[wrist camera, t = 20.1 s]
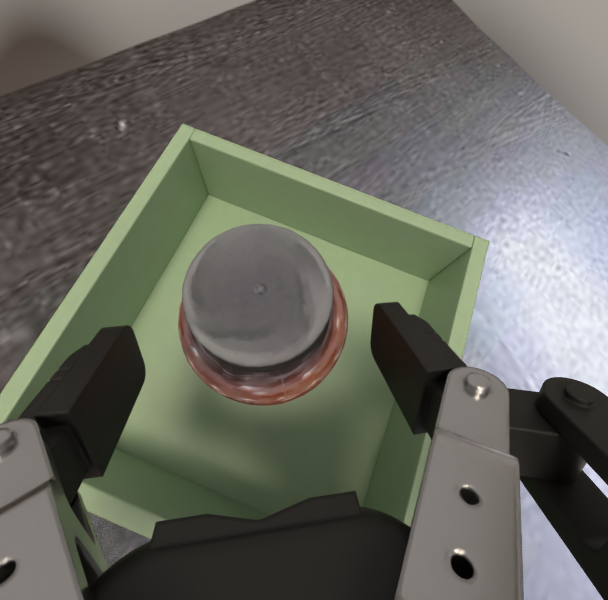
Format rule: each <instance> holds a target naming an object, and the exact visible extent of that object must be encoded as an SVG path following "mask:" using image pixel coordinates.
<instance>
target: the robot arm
mask: <svg viewBox="0 0 608 600" xmlns="http://www.w3.org/2000/svg"><path fill="white" fill-rule="evenodd" d="M370 345H371V352H372V356H373V358H374V360H375V362H376V364H377V366H378V368H379V370H380V372H381V374H382V376H383V377H384V379H385V381H386V383H387V385H388V387H389V389H390V391H391V393H392V395H393V397H394V398H395V400H396V402H397V404H398V406H399V408H400V410H401V412H402V414H403V416H404V418H405V419H406V421H407V423H408V425H409V427H410V429H411V431H412V433H413V435H415V434H422V433H428V435H429V436H430V438H431V443H430V447H429V451H428V456H427V460H426V464H425V468H424V472H423V476H422V480H421V485H420V489H419V493H418V497H417V501H416V505H415V509H414V513H413V517H412V521H411V526H410V527H409V526H408V525H406V524H405V523H404V522H402V521H400V520H398V519H396V518H395V517H393V516H391V515H388V514H386V513H383V512H381V511H378V510H374V509H371V508H367V507H360V505H359V501H358V498H357V494H356V491H350V492H344V493H337V494H331V495H324V496H318V497H312V498H308V499H305V500H303V501H301V502H299V503H296V504H294V505H292V506H290V507H288V508H285V509H283V510H281V511H279V512H276V513H274V514H272V515H270V516H267V517H265V518H263V519H258V520H253V519H245V518H237V517H229V516H221V515H213V514H202V515H196V516H190V517H183V518H177V519H170V520H164V521H158V522H156V523H155V527H154V531H153V535H152V538H151V541H150V542H148V543H146V544H144V545H142V546H140V547H138V548H137V549H135V550H133V551H131V552H130V553H128V554H127V555H125V556H124V557H122V558H121V559H120V560H118V561H117V562H116V563H114V564H113V565H112V566H111V567H109V565H108V563H107V561H106V559H105V557H104V555H103V552H102V550H101V547H100V544H99V542H98V539H97V536H96V534H95V531H94V528H93V526H92V523H91V520H90V518H89V515H88V512H87V510H86V507H85V504H84V502H83V499H82V496H81V495H80V493H79V491H78V489H79V487H80V485H81V483H82V481H83V479H89V478H96V477H103V476H104V473H105V471H106V469H107V466H108V464H109V462H110V460H111V457H112V455H113V453H114V450H115V448H116V446H117V443H118V441H119V439H120V437H121V434H122V432H123V430H124V427H125V425H126V423H127V421H128V418H129V416H130V414H131V411H132V409H133V407H134V405H135V402H136V400H137V398H138V395H139V393H140V391H141V389H142V386H143V384H144V381H145V376H146V369H145V363H144V360H143V357H142V354H141V351H140V348H139V345H138V342H137V339H136V336H135V333H134V331H133V329H132V327H131V326H129V325H125V326H114V327H103V328H101V329H100V330H99V332H98V333H97V334H96V335H95V337H94V338H93V339H92V341H91V342H90V343H89V344H88V345H84V346H82V347H81V348H80V349H78V350H77V351H75V352H74V353H73V354H71V355H70V356H69V357H68V358H67V359H66V360H65V361H64V363H63V364H62V365H61V366H60V367H59V371H56V372H55V374H54V375H53V376H52V377H51V378H50V382H47V383H46V384H45V386H44V387H43V388H42V389H41V391H40V392H39V393H38V394H37V395H36V397H35V398H34V399H33V400H32V402H31V403H30V404H29V405H28V406H27V408H26V409H25V410H24V411H23V412H22V414H21V415H20V416H19V417H18V419H13V420H9V421H6V422H3V423H0V600H524V593H523V563H522V533H521V504H520V480H521V482H522V483H523V484H524V486H525V487H526V489H527V490H528V492H529V493H530V495H531V496H532V497H533V499H534V500H535V502H536V503H537V505H538V506H539V507H540V509H541V510H542V512H543V513H544V515H545V516H546V517H547V519H548V520H549V522H550V523H551V525H552V526H553V528H554V529H555V530H556V532H557V533H558V535H559V536H560V538H561V539H562V540H563V542H564V543H565V545H566V546H567V548H568V549H569V550H570V552H571V553H572V555H573V556H574V558H575V559H576V561H577V562H578V563H579V565H580V566H581V568H582V569H583V571H584V572H585V573H586V575H587V576H588V578H589V579H590V581H591V582H592V583H593V585H594V586H595V588H596V589H597V591H598V592H599V594H600V595H601V596H602V598H603V599H604V600H608V498H607V497H606V496H605V495H604V494H603V493H602V491H601V490H600V489H599V488H598V487H597V486H596V485H595V484H594V483H593V481H592V480H591V479H590V478H589V477H588V476H587V475H586V474H585V473H584V471H583V470H582V469H583V468H584V466H585V464H586V463H588V464H589V466H590V467H591V468H592V469H593V470H594V471H595V472H596V473H597V474H598V475H599V476H600V477H601V478H602V479H603V481H604V482H605V483H606V484H607V485H608V397H607V396H606V395H605V394H603V393H602V392H600V391H599V390H597V389H596V388H594V387H592V386H590V385H588V384H585V383H583V382H580V381H577V380H573V379H569V378H562V377H554V378H549V379H547V380H546V381H545V382H544V383H543V385H542V387H541V389H540V392H533V391H525V390H516V389H509V388H507V387H506V386H505V384H504V383H503V382H502V381H501V380H500V379H499V378H497V377H496V376H494V375H493V374H491V373H489V372H486V371H484V370H481V369H478V368H473V367H467V366H466V364H465V363H464V362H463V361H462V360H461V359H460V358H459V357H458V356H457V354H456V353H455V352H454V351H453V350H452V349H451V348H450V347H449V346H448V344H447V343H446V342H445V341H442V338H441V337H440V336H439V334H438V333H435V330H434V329H433V328H432V327H431V326H430V325H429V323H428V322H427V321H425V320H423V319H421V318H420V317H418V316H416V315H414V314H411V315H409V314H408V313H407V312H406V310H405V309H404V308H403V307H402V306H401V304H400V303H399V302H387V303H377V304H375V306H374V309H373V319H372V329H371V340H370Z"/></svg>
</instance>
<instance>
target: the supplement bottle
mask: <svg viewBox="0 0 608 600" xmlns="http://www.w3.org/2000/svg"><path fill="white" fill-rule="evenodd" d="M178 330H179V338H180V342H181V346H182V349H183V352H184V354H185V356H186V359H187V361H188V363H189V364H190V366H191V367H192V369H193V370H194V372H195V373H196V374H197V375H198V377H199V378H200V379H201V380H202V381H203V382H204V383H205V384H206V385H207V386H209V387H210V388H212V389H213V390H214V391H216V392H217V393H219V394H221V395H222V396H224V397H226V398H229V399H231V400H234V401H237V402H240V403H244V404H249V405H260V406H269V405H277V404H283V403H285V402H289V401H292V400H294V399H297V398H299V397H301V396H303V395H305V394H307V393H308V392H310V391H311V390H313V389H314V388H315V387H316V386H318V385H319V384H320V383H321V382H322V381H323V379H324V378H325V377H326V376H327V375H328V374H329V373H330V371H331V370H332V369H333V367H334V366H335V364H336V363H337V361H338V359H339V357H340V355H341V353H342V350H343V348H344V345H345V341H346V337H347V332H348V309H347V304H346V300H345V295H344V293H343V290H342V288H341V286H340V284H339V282H338V280H337V278H336V277H335V275H334V274H333V272H332V271H331V270H330V269H329V267H328V266H327V265H326V263H325V261H324V259H323V258H322V256H321V254H320V253H319V252H318V251H317V249H316V248H315V247H314V246H313V245H312V244H311V243H310V242H308V241H307V240H306V239H305V238H304V237H302V236H300V235H298V234H297V233H295V232H294V231H292V230H289V229H287V228H283V227H279V226H275V225H271V224H248V225H241V226H239V227H235V228H232V229H229V230H227V231H225V232H223V233H221V234H219V235H217V236H216V237H214V238H212V239H211V240H210V241H209V242H208V243H206V244H205V245H204V246H203V248H202V249H201V250H200V251H199V252H198V253H197V255H196V256H195V258H194V259H193V260H192V262H191V264H190V265H189V268H188V270H187V272H186V275H185V279H184V282H183V285H182V300H181V303H180V307H179V318H178Z"/></svg>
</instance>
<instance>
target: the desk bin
mask: <svg viewBox="0 0 608 600" xmlns="http://www.w3.org/2000/svg"><path fill="white" fill-rule="evenodd" d="M248 224H271V225H275V226H279V227H283V228H287V229H289V230H292V231H294V232H295V233H297V234H298V235H300V236H302V237H304V238H305V239H306V240H307V241H308V242H310V243H311V244H312V245H313V246H314V247H315V248H316V249H317V251H318V252H319V253H320V254H321V256H322V258H323V259H324V261H325V263H326V265H327V266H328V267H329V269H330V270H331V271H332V272H333V274H334V275H335V277H336V278H337V280H338V282H339V284H340V286H341V288H342V290H343V293H344V295H345V300H346V304H347V309H348V332H347V337H346V341H345V345H344V348H343V350H342V353H341V355H340V357H339V359H338V361H337V363H336V364H335V366H334V367H333V369H332V370H331V371H330V373H329V374H328V375H327V376H326V377H325V378H324V379H323V381H322V382H321V383H320V384H319V385H318V386H316V387H315V388H314V389H313V390H311V391H310V392H308V393H307V394H305V395H303V396H301V397H299V398H297V399H294V400H292V401H289V402H285V403H283V404H277V405H269V406H260V405H249V404H244V403H240V402H237V401H234V400H231V399H229V398H226V397H224V396H222V395H221V394H219V393H217V392H216V391H214V390H213V389H212V388H210V387H209V386H207V385H206V384H205V383H204V382H203V381H202V380H201V379H200V378H199V377H198V375H197V374H196V373H195V372H194V370H193V369H192V367H191V366H190V364H189V363H188V361H187V359H186V356H185V354H184V352H183V349H182V346H181V342H180V338H179V330H178V318H179V307H180V303H181V300H182V285H183V282H184V279H185V275H186V272H187V270H188V268H189V265H190V264H191V262H192V260H193V259H194V258H195V256H196V255H197V253H198V252H199V251H200V250H201V249H202V248H203V246H204V245H205V244H206V243H208V242H209V241H210V240H211V239H212V238H214V237H216V236H217V235H219V234H221V233H223V232H225V231H227V230H229V229H232V228H235V227H239V226H241V225H248ZM488 245H489V241H488V240H485V239H483V238H480V237H478V236H475V237H474V235H472V234H469V233H466V232H464V231H461V230H459V229H456V228H453V227H451V226H448V225H446V224H443V223H440V222H438V221H435V220H433V219H430V218H427V217H425V216H422V215H420V214H417V213H414V212H412V211H409V210H406V209H404V208H401V207H399V206H396V205H393V204H391V203H388V202H386V201H383V200H380V199H378V198H375V197H373V196H370V195H367V194H365V193H362V192H360V191H357V190H354V189H352V188H349V187H346V186H344V185H341V184H339V183H336V182H333V181H331V180H328V179H326V178H323V177H320V176H318V175H315V174H313V173H310V172H307V171H305V170H302V169H300V168H297V167H294V166H292V165H289V164H286V163H284V162H281V161H279V160H276V159H273V158H271V157H268V156H266V155H263V154H260V153H258V152H255V151H253V150H250V149H247V148H245V147H242V146H240V145H237V144H234V143H232V142H229V141H226V140H224V139H221V138H219V137H216V136H213V135H211V134H208V133H206V132H203V131H200V130H198V129H195V128H193V127H190V126H188V125H185V124H182V125H181V127H180V128H179V130H178V131H177V133H176V134H175V136H174V137H173V139H172V140H171V142H170V143H169V145H168V146H167V148H166V149H165V151H164V152H163V154H162V155H161V157H160V158H159V159H158V161H157V162H156V164H155V165H154V167H153V168H152V170H151V171H150V173H149V174H148V176H147V177H146V179H145V180H144V182H143V183H142V185H141V186H140V188H139V189H138V191H137V192H136V194H135V195H134V197H133V198H132V200H131V201H130V202H129V204H128V205H127V207H126V208H125V210H124V211H123V213H122V214H121V216H120V217H119V219H118V220H117V222H116V223H115V225H114V226H113V228H112V229H111V231H110V232H109V234H108V235H107V237H106V238H105V240H104V241H103V243H102V244H101V246H100V247H99V248H98V250H97V251H96V253H95V254H94V256H93V257H92V259H91V260H90V262H89V263H88V265H87V266H86V268H85V269H84V271H83V272H82V274H81V275H80V277H79V278H78V280H77V281H76V283H75V284H74V286H73V287H72V289H71V290H70V292H69V293H68V294H67V296H66V297H65V299H64V300H63V302H62V303H61V305H60V306H59V308H58V309H57V311H56V312H55V314H54V315H53V317H52V318H51V320H50V321H49V323H48V324H47V326H46V327H45V329H44V330H43V332H42V333H41V335H40V336H39V337H38V339H37V340H36V342H35V343H34V345H33V346H32V348H31V349H30V351H29V352H28V354H27V355H26V357H25V358H24V360H23V361H22V363H21V364H20V366H19V367H18V369H17V370H16V372H15V373H14V375H13V376H12V378H11V379H10V381H9V382H8V383H7V385H6V386H5V388H4V389H3V391H2V392H1V394H0V423H3V422H6V421H9V420H13V419H18V417H19V416H20V415H21V414H22V412H23V411H24V410H25V409H26V408H27V406H28V405H29V404H30V403H31V402H32V400H33V399H34V398H35V397H36V395H37V394H38V393H39V392H40V391H41V389H42V388H43V387H44V386H45V384H46V383H47V382H50V378H51V377H52V376H53V375H54V374H55V372H56V371H59V367H60V366H61V365H62V364H63V363H64V361H65V360H66V359H67V358H68V357H69V356H70V355H71V354H73V353H74V352H75V351H77V350H78V349H80V348H81V347H82V346H84V345H88V344H89V343H90V342H91V341H92V339H93V338H94V337H95V335H96V334H97V333H98V332H99V330H100V329H101V328H103V327H114V326H125V325H129V326H131V327H132V329H133V331H134V333H135V336H136V339H137V342H138V345H139V348H140V351H141V354H142V357H143V360H144V363H145V369H146V376H145V381H144V384H143V386H142V389H141V391H140V393H139V395H138V398H137V400H136V402H135V405H134V407H133V409H132V411H131V414H130V416H129V418H128V421H127V423H126V425H125V427H124V430H123V432H122V434H121V437H120V439H119V441H118V443H117V446H116V448H115V450H114V453H113V455H112V457H111V460H110V462H109V464H108V466H107V469H106V471H105V473H104V476H103V477H96V478H89V479H83V481H82V483H81V485H80V487H79V489H78V491H79V493H80V495H81V496H82V499H83V502H84V504H85V507H86V510H87V511H88V512H91V513H93V514H95V515H97V516H99V517H102V518H104V519H106V520H108V521H111V522H113V523H115V524H117V525H120V526H122V527H124V528H126V529H129V530H131V531H133V532H135V533H138V534H140V535H142V536H144V537H147V538H149V539H151V538H152V535H153V531H154V527H155V523H156V522H158V521H164V520H170V519H177V518H183V517H190V516H196V515H202V514H213V515H221V516H229V517H237V518H245V519H253V520H258V519H263V518H265V517H267V516H270V515H272V514H274V513H276V512H279V511H281V510H283V509H285V508H288V507H290V506H292V505H294V504H296V503H299V502H301V501H303V500H305V499H308V498H312V497H318V496H324V495H331V494H337V493H344V492H350V491H356V494H357V498H358V501H359V505H360V507H367V508H371V509H374V510H378V511H381V512H383V513H386V514H388V515H391V516H393V517H395V518H396V519H398V520H400V521H402V522H404V523H405V524H406V525H408V526H409V527H410V526H411V521H412V517H413V513H414V509H415V505H416V501H417V497H418V493H419V489H420V485H421V480H422V476H423V472H424V468H425V464H426V460H427V456H428V451H429V447H430V443H431V438H430V436H429V435H428V433H422V434H415V435H413V433H412V431H411V429H410V427H409V425H408V423H407V421H406V419H405V418H404V416H403V414H402V412H401V410H400V408H399V406H398V404H397V402H396V400H395V398H394V397H393V395H392V393H391V391H390V389H389V387H388V385H387V383H386V381H385V379H384V377H383V376H382V374H381V372H380V370H379V368H378V366H377V364H376V362H375V360H374V358H373V356H372V352H371V345H370V340H371V329H372V319H373V309H374V306H375V304H377V303H387V302H399V303H400V304H401V306H402V307H403V308H404V309H405V310H406V312H407V313H408V314H409V315H411V314H414V315H416V316H418V317H420V318H421V319H423V320H425V321H427V322H428V323H429V325H430V326H431V327H432V328H433V329H434V330H435V333H438V334H439V336H440V337H441V338H442V341H445V342H446V343H447V344H448V346H449V347H450V348H451V349H452V350H453V351H454V352H455V353H456V354H457V356H458V357H459V358H460V359H461V360H462V356H463V352H464V348H465V343H466V339H467V335H468V331H469V326H470V322H471V318H472V313H473V309H474V305H475V301H476V296H477V292H478V288H479V283H480V279H481V275H482V271H483V266H484V262H485V258H486V253H487V249H488Z"/></svg>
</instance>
